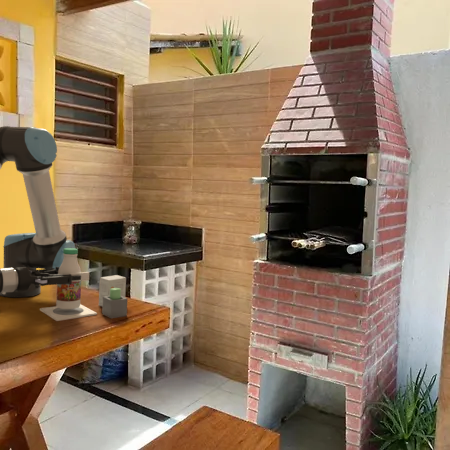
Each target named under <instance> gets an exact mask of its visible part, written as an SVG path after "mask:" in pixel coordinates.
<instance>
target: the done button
mask: <svg viewBox="0 0 450 450" xmlns="http://www.w3.org/2000/svg"><path fill="white" fill-rule="evenodd" d="M110 299H112V300H116V299H121V289H120V288H111V289H110Z"/></svg>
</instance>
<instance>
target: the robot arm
mask: <svg viewBox="0 0 450 450" xmlns="http://www.w3.org/2000/svg"><path fill="white" fill-rule="evenodd" d="M57 153H58V146H57V143H56V140H55V138H54V136H53V134H52V133H51V132H49V131H48V130H47V129H44V128H39V127H35V126H30V127H29V126H26V127H24V126H8V125H6V126H5V125H4V126H0V170H1V169H2V167H3V165H4V164H5V163H7V162H14V165H15V168H16V171H17V172H19V173H20V174H22V177H23V182H24V186H25V191H26V195H27V199H28V204H29V209H30V213H31V218H32V221H33V226H34V231H35V232H24V233H22V232H21V233H14V234H8V235H6V236H5V237H4V240H3V241H4V242H3V246H2V247H3V267H2V268H1V267H0V296H1V297H5V298H6V297H7V298H27V297H33V296H37V295H39V294H41V293H42V292H41V289H42V287H43V286H44V287H46V286H51V285H52V286H53V285H56V286H57V284H69V285H71V283H72V282H76V281H81V282H84V281H89V280H90V272H89V271H84V272H83V271H81V273H70V274H58V271H59V268H60V266H61V264H62V262H63V259H64V255H63V254H64V253H63V250H64V249H65V248H76V245H75V243H74V241H72V240H71V239H68V238H67V233H66V232H65V231H64V230H62V229H61V225H60V221H59V220H60V219H59V215H58V209H57V205H56V200H55V195H54V189H53V188H54V187H53V184H52V183H53V182H52V179H51V174H50V169H51V168H52V166H53V163H54V161H56V158H57Z"/></svg>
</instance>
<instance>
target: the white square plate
mask: <svg viewBox="0 0 450 450" xmlns="http://www.w3.org/2000/svg"><path fill="white" fill-rule="evenodd" d="M39 311H40V312H42V313H44V314H45V315H46V316H48V317H50V318H51V319H52V320H54V321H56V322H59V321H65V320H66V321H67V320H72V319H79V318H83V317H91V316H96V315H98V313H97V312H96V311H94V310H92V309H90V308H88V307H86V306H85V305H83V304H82V303H80V306H79V307H78V308H75V309H60V308H58V307H57V306H56V305H55V306H50V307H48V306H47V307H41V308H39Z"/></svg>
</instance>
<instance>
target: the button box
mask: <svg viewBox="0 0 450 450" xmlns="http://www.w3.org/2000/svg"><path fill="white" fill-rule="evenodd" d="M101 312H102V315H104V316H105V317H108V318H109V319H115V318H117V319H118V318H123V317H127V316H128V298H127V297H126V296H125V297H123V296H121V299H116V300H112V299H110V296H105V297H103V307H102V310H101Z"/></svg>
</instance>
